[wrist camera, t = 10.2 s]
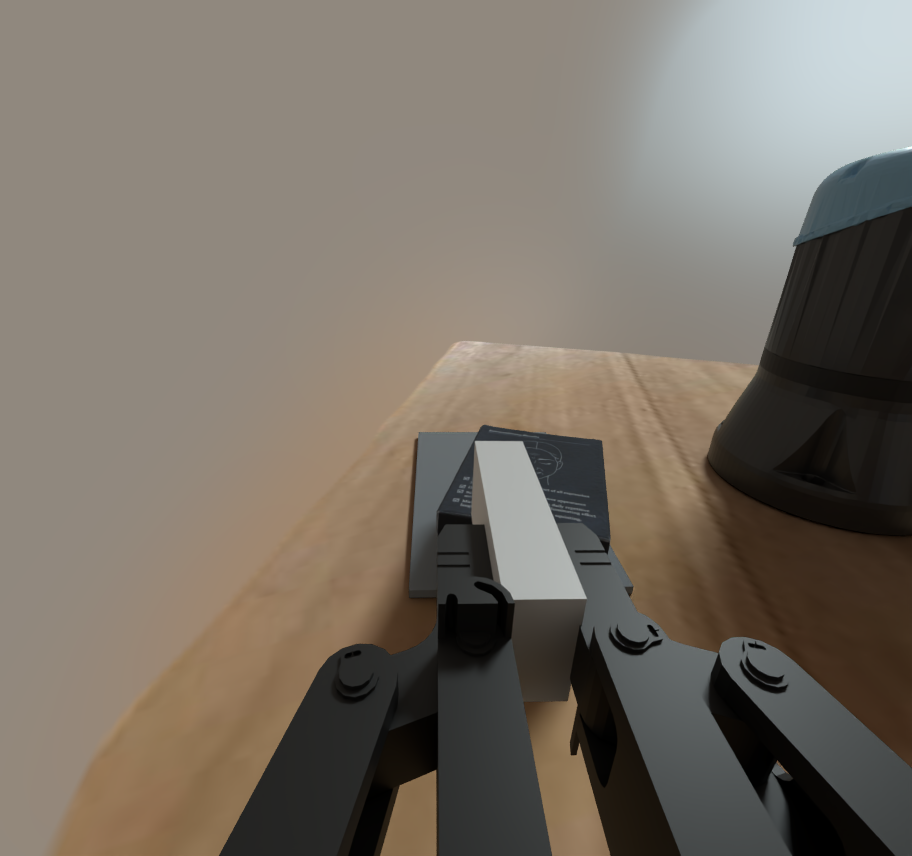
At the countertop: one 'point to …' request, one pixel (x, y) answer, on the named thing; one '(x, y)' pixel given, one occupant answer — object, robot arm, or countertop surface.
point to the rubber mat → (433, 480)
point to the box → (543, 480)
